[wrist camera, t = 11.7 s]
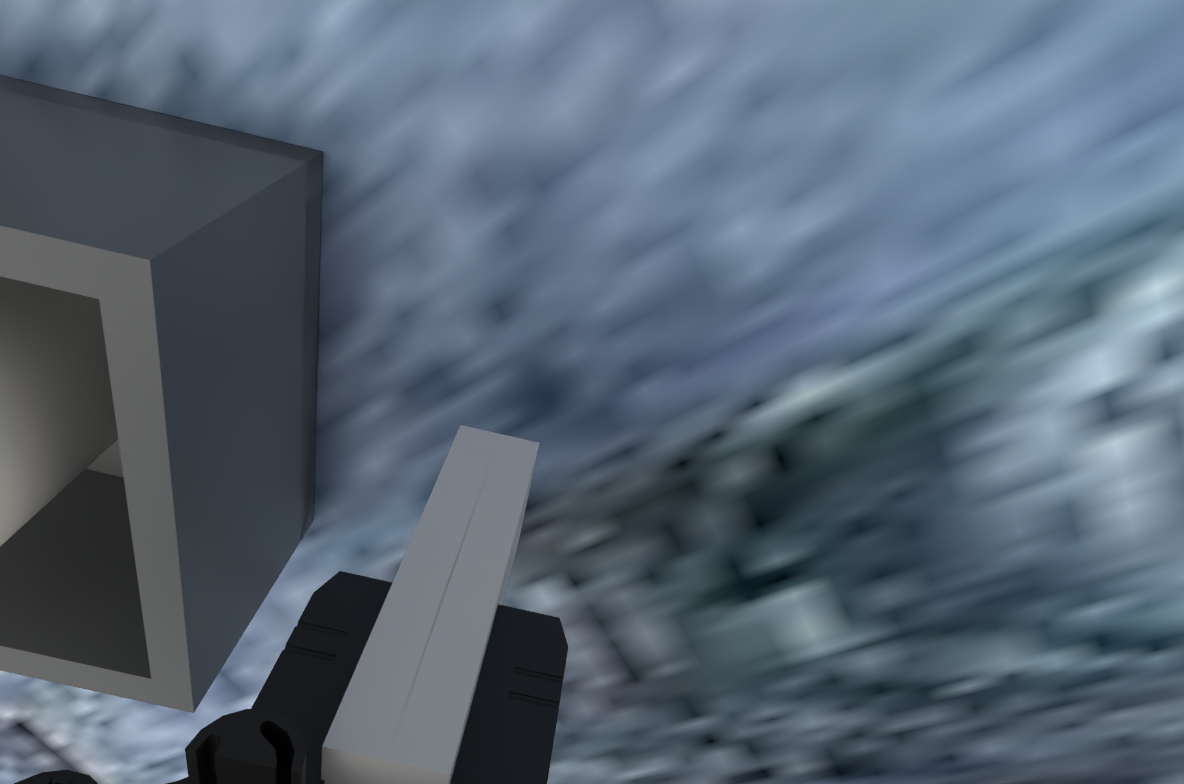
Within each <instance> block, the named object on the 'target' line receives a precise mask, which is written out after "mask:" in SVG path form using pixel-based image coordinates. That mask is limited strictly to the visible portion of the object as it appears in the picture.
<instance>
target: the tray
mask: <svg viewBox="0 0 1184 784" xmlns="http://www.w3.org/2000/svg"><path fill="white" fill-rule="evenodd" d="M322 161H323V152H321V151H317V150H313V149H309V148H304V147H300V146H296V145H292V144H288V143H283V142H279V141H275V140H271V139H266V138H262V137H258V136H254V135H249V134H245V133H241V132H237V131H233V130H228V129H224V128H220V127H216V126H211V125H207V124H203V123H199V122H195V121H190V120H186V119H182V118H178V117H173V116H169V115H165V114H161V113H157V112H152V111H148V110H144V109H140V108H135V107H131V106H127V105H123V104H119V103H114V102H110V101H106V100H102V99H97V98H93V97H89V96H85V95H81V94H76V93H72V92H68V91H64V90H59V89H55V88H51V87H47V86H43V85H38V84H34V83H30V82H26V81H21V80H17V79H13V78H9V77H5V76H0V670H1V671H6V672H10V673H15V674H19V675H24V676H28V677H33V678H38V679H42V680H47V681H51V682H56V683H60V684H65V685H69V686H74V687H78V688H83V689H88V690H92V691H97V692H101V693H106V694H110V695H115V696H119V697H124V698H128V699H133V700H138V701H142V702H147V703H151V704H156V705H160V706H165V707H169V708H174V709H178V710H183V711H187V712H192V713H194V712H195V710H196V708H197V707H198V705H199V704H200V702H201V700H202V699H203V697H204V696H205V694H206V692H207V691H208V689H209V688H210V686H211V684H212V683H213V681H214V680H215V678H216V676H217V675H218V673H219V671H220V670H221V668H222V667H223V665H224V663H225V662H226V660H227V659H228V657H229V655H230V654H231V652H232V651H233V649H234V647H235V646H236V644H237V642H238V641H239V639H240V638H241V636H242V634H243V633H244V631H245V630H246V628H247V626H248V625H249V623H250V622H251V620H252V618H253V617H254V615H255V614H256V612H257V610H258V609H259V607H260V605H261V604H262V602H263V601H264V599H265V597H266V596H267V594H268V593H269V591H270V589H271V588H272V586H273V585H274V583H275V581H276V580H277V578H278V576H279V575H280V573H281V572H282V570H283V568H284V567H285V565H286V564H287V562H288V560H289V559H290V557H291V556H292V554H293V552H294V551H295V549H296V548H297V546H298V544H299V543H300V541H301V539H302V538H303V536H304V535H305V533H306V531H307V530H308V528H309V527H310V525H311V523H312V522H313V510H314V471H315V432H316V393H317V355H318V316H319V277H320V238H321V200H322Z"/></svg>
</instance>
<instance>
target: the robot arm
mask: <svg viewBox="0 0 1184 784" xmlns="http://www.w3.org/2000/svg"><path fill="white" fill-rule="evenodd" d="M538 447H539V443H538V442H534V441H529V440H525V439H521V438H516V437H512V436H507V435H503V434H499V433H494V432H490V431H485V430H481V429H477V428H472V427H468V426H463V425H460V427H459V430H458V432H457V434H456V437H455V439H454V441H453V444H452V446H451V448H450V451H449V453H448V455H447V458H446V460H445V462H444V465H443V467H442V469H441V472H440V474H439V476H438V479H437V481H436V483H435V486H434V488H433V490H432V493H431V495H430V497H429V499H428V502H427V504H426V506H425V509H424V511H423V513H422V516H421V518H420V520H419V523H418V525H417V527H416V530H415V532H414V534H413V537H412V539H411V541H410V544H409V546H408V548H407V551H406V553H405V555H404V558H403V560H402V562H401V565H400V567H399V569H398V571H397V574H396V576H395V578H394V581H393V583H391V582H387V581H382V580H378V579H373V578H369V577H364V576H360V575H355V574H351V573H346V572H342V571H339V572H338V573H337V574H336V575H335V576H333V577H332V578H331V579H330V580H329V581H327V582H326V583H325V584H324V585H323V586H321V587H320V588H319V589H318V590H316V591H315V592H314V593H313V595H312V597H311V599H310V601H309V602H308V604H307V606H306V608H305V610H304V612H303V614H302V615H301V617H300V619H299V621H298V625H297V627H295V628H294V630H293V632H292V634H291V636H290V638H289V640H288V641H287V643H286V647H285V649H284V650H283V651H282V652H281V654H280V656H279V658H278V660H277V662H276V664H275V665H274V667H273V669H272V671H271V673H270V675H269V677H268V678H267V680H266V682H265V684H264V686H263V688H262V690H261V691H260V693H259V695H258V697H257V699H256V701H255V703H254V704H253V706H252V708H251V709H245V710H242V711H238V712H235V713H231V714H228V715H224V716H222V717H220V718H219V719H217V720H216V721H214V722H212V723H211V724H209V725H208V726H206V727H205V728H203V729H201V730H200V732H199V733H198V734H197V735H196V736H195V738H194V739H193V740H192V741H191V742H190V743H189V745H188V746H187V747H186V748H185V752H186V760H187V768H188V775H189V777H187V778H184V779H182V780H179V781H176V782H171V783H167V784H547V780H548V773H549V767H550V761H551V754H552V748H553V741H554V735H555V728H556V722H557V716H558V709H559V708H558V707H559V703H560V696H561V690H562V684H563V683H562V682H563V677H564V671H565V664H566V658H567V652H568V645H567V642H566V638H565V635H564V631H563V628H562V625H561V621H560V618H557V617H553V616H548V615H544V614H539V613H535V612H530V611H526V610H521V609H517V608H512V607H508V606H503V601H504V597H505V593H506V589H507V586H508V582H509V578H510V574H511V570H512V566H513V563H514V559H515V555H516V551H517V547H518V542H519V537H520V533H521V528H522V523H523V519H524V514H525V509H526V504H527V500H528V495H529V490H530V485H531V481H532V476H533V471H534V466H535V462H536V457H537V452H538ZM14 784H98V783H97V782H96V781H95V780H94V779H92V778H91V777H90V776H89V775H86V774H82V773H78V772H74V771H70V770H61V771H52V772H42V773H39V774H37V775H34V776H32V777H29V778H27V779H24V780H22V781H19V782H17V783H14Z"/></svg>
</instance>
